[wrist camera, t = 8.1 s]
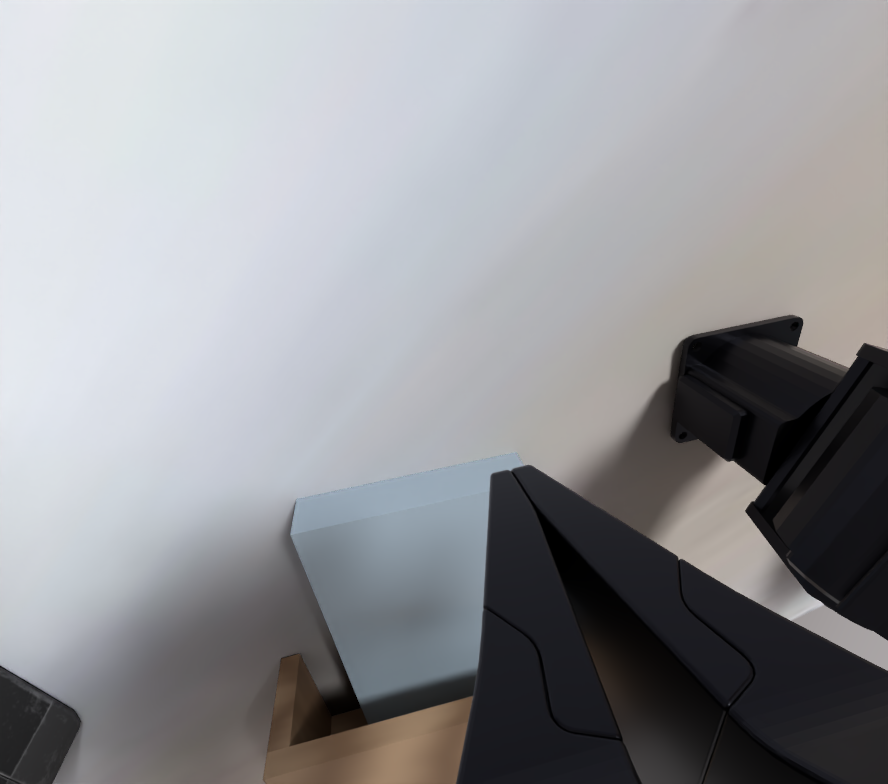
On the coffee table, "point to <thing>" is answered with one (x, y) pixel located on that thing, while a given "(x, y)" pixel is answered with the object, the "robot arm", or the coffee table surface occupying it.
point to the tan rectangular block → (358, 739)
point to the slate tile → (403, 581)
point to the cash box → (32, 732)
